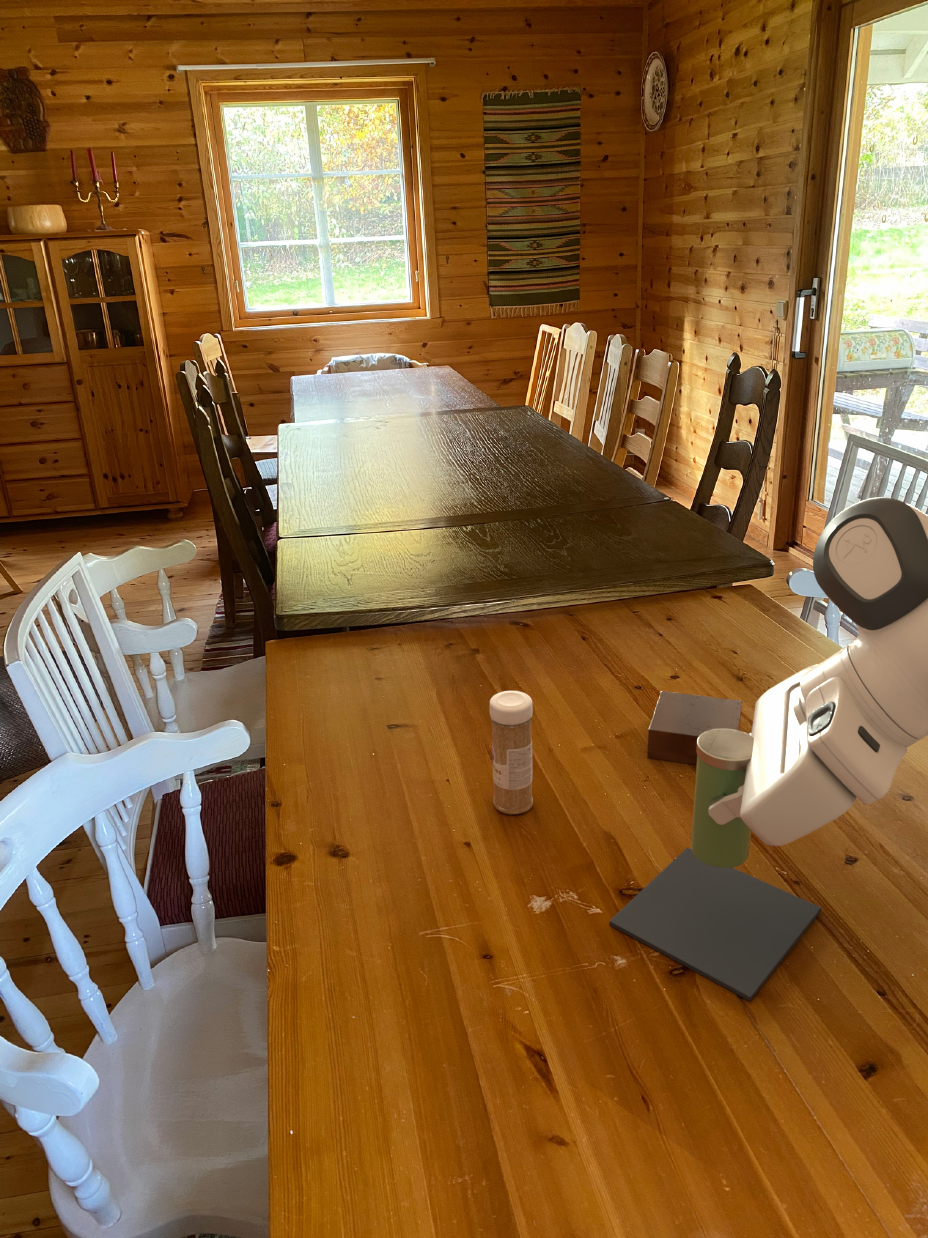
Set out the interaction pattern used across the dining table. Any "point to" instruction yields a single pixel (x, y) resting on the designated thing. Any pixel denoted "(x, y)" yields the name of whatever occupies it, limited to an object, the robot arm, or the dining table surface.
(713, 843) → the green canister
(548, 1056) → the dining table surface
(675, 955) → the rubber mat
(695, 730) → the walnut block
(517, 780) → the sprinkles bottle
